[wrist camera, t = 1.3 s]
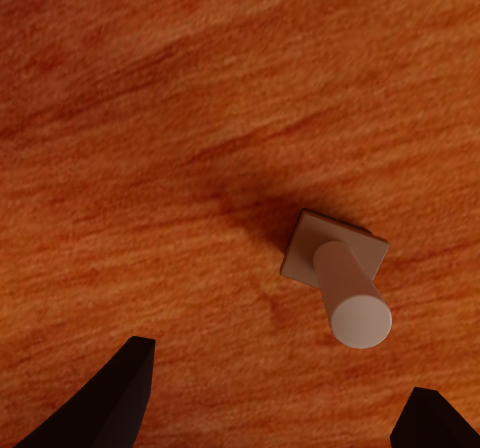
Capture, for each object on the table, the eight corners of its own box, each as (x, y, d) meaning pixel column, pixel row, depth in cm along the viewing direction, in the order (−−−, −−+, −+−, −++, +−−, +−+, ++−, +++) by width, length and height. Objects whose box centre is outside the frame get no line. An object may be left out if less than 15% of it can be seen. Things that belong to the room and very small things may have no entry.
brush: (375, 228, 20) (449, 301, 11) (351, 282, 21) (401, 386, 12) (300, 202, 20) (317, 254, 11) (279, 256, 21) (279, 342, 12)
